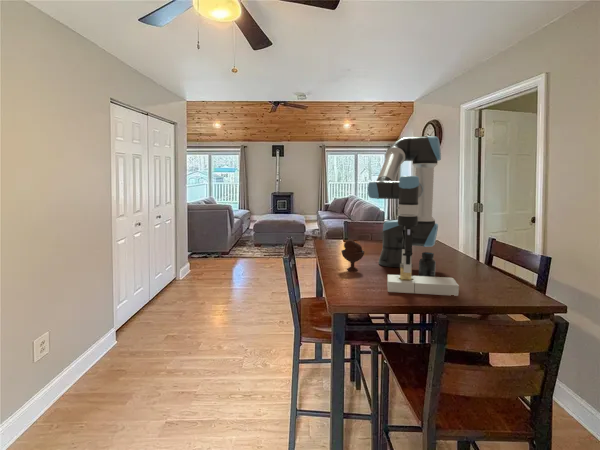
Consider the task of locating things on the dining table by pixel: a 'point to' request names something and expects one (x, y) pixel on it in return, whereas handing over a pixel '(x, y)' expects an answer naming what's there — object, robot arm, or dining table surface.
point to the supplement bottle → (427, 265)
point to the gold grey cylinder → (404, 275)
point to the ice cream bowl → (352, 253)
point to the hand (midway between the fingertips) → (406, 268)
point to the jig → (423, 285)
